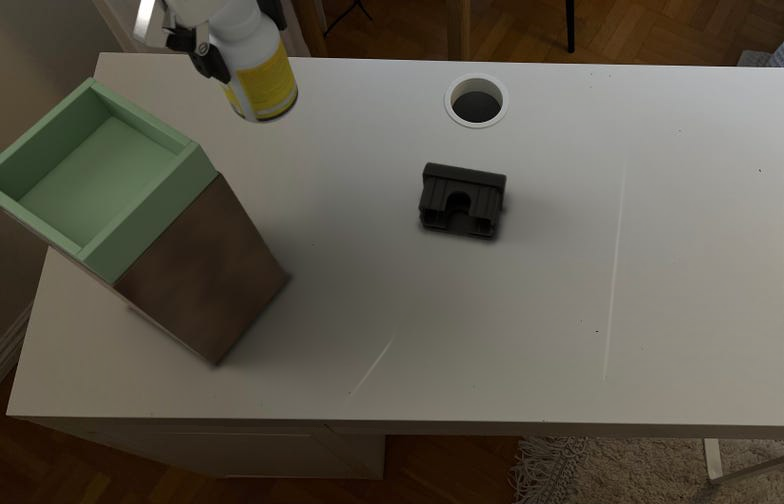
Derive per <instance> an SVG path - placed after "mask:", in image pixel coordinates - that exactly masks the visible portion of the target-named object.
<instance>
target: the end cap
mask: <svg viewBox="0 0 784 504" xmlns="http://www.w3.org/2000/svg"><path fill="white" fill-rule="evenodd" d="M421 176H422V186H423V187H422V191H421V196H420V199H419V204H418V208H417V209H418V211H419V216H418V218H419V219H420V222H421V224H422V228H423V229H425V230H427V231H433V232H438V233H445V234H451V235H457V236H463V237H469V238H474V239H481V240H486V241H491V240H492V239H493V237H494V233H495V232H496V230H497V225H498V218H499V213H500V212H502V211H503V206H504V201H505V200H504V199H505V194H506V193H505V192H506V186H507V175H506V174H502V173H497V172H490V171H484V170H479V169H472V168H467V167H462V166H455V165H449V164H443V163H437V162H430V161H429V162H426V164H425V165H424V168H423V170H422V173H421Z"/></svg>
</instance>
